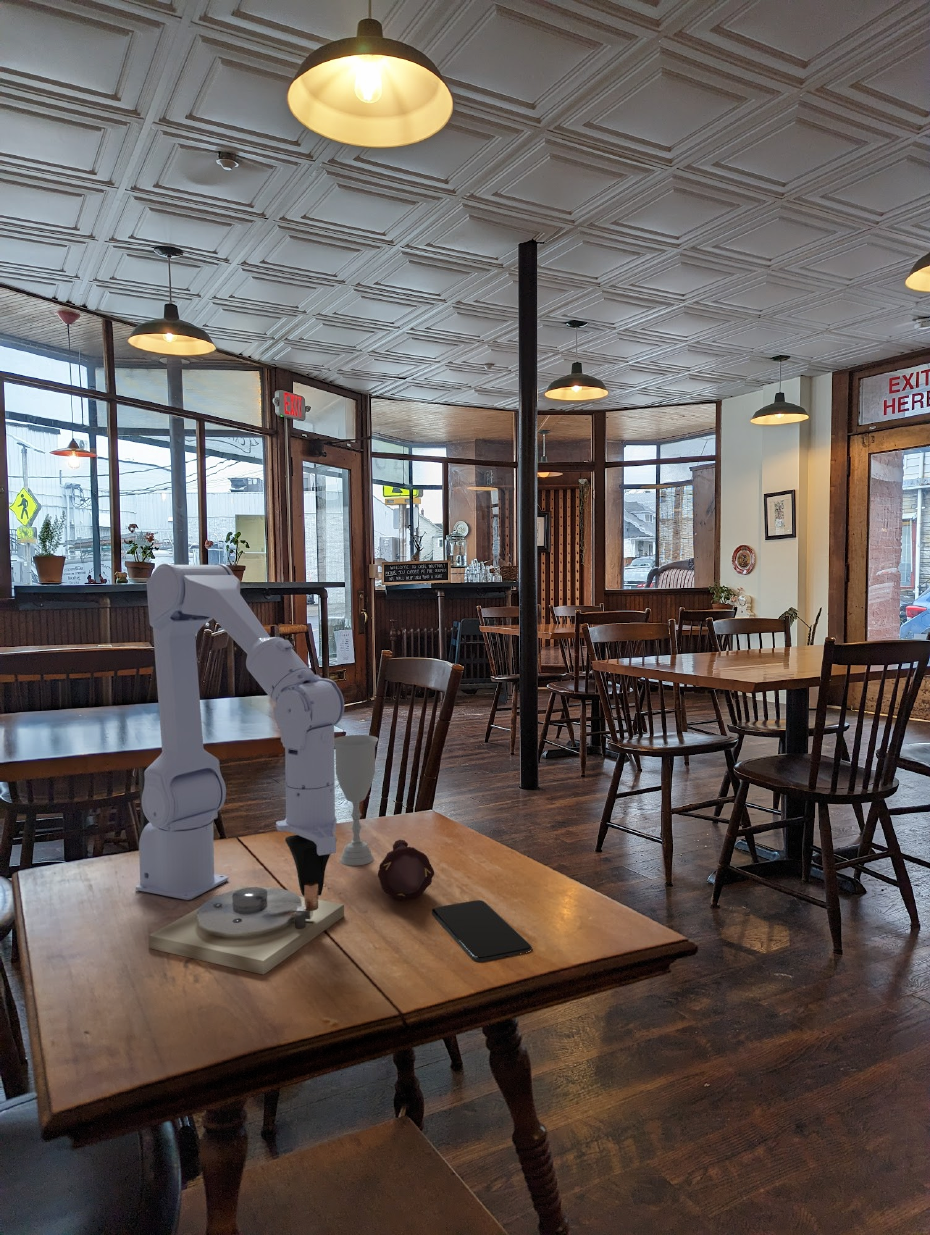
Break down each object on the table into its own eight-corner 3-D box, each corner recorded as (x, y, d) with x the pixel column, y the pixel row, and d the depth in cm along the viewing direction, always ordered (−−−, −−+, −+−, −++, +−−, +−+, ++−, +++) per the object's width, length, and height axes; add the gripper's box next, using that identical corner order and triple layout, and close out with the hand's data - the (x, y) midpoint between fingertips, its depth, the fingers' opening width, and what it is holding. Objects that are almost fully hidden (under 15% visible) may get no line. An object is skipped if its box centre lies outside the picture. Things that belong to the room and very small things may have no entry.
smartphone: (535, 955, 91) (482, 904, 105) (535, 947, 91) (482, 898, 105) (475, 967, 89) (428, 913, 102) (475, 959, 88) (428, 907, 102)
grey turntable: (179, 935, 91) (178, 900, 91) (221, 893, 103) (221, 862, 103) (303, 940, 90) (302, 904, 90) (331, 897, 102) (331, 866, 102)
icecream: (450, 865, 101) (427, 838, 115) (392, 855, 99) (376, 829, 113) (438, 922, 100) (416, 887, 114) (379, 913, 98) (364, 879, 113)
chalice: (376, 868, 117) (374, 744, 116) (329, 868, 117) (327, 745, 116) (382, 851, 125) (380, 734, 124) (338, 851, 125) (336, 735, 124)
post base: (148, 948, 93) (148, 922, 93) (240, 896, 107) (239, 874, 107) (263, 974, 86) (263, 947, 86) (344, 916, 101) (343, 892, 101)
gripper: (263, 772, 101) (265, 879, 102) (291, 803, 88) (292, 925, 89) (319, 766, 104) (320, 870, 105) (353, 795, 91) (354, 913, 92)
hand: (311, 895), depth 97 cm, fingers closed, pressing on grey turntable
